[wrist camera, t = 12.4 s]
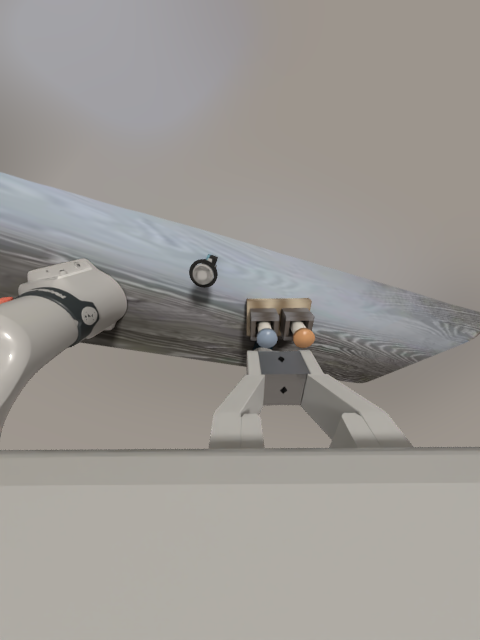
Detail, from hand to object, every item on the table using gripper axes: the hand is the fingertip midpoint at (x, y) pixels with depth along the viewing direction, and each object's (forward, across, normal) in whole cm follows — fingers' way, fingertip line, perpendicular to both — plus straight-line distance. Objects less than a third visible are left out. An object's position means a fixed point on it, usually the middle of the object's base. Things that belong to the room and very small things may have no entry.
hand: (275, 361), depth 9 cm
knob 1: (+35, -4, +16) cm, 39 cm away
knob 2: (+35, -12, +16) cm, 40 cm away
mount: (+37, -8, +16) cm, 41 cm away
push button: (+37, +9, +3) cm, 39 cm away
